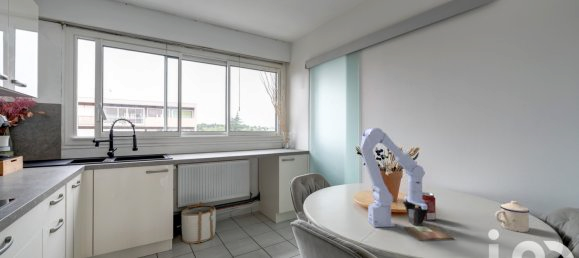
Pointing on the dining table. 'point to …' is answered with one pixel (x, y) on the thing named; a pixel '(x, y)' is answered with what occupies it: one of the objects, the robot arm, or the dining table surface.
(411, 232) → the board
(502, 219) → the teacup with lid
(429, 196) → the soda can
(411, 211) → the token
